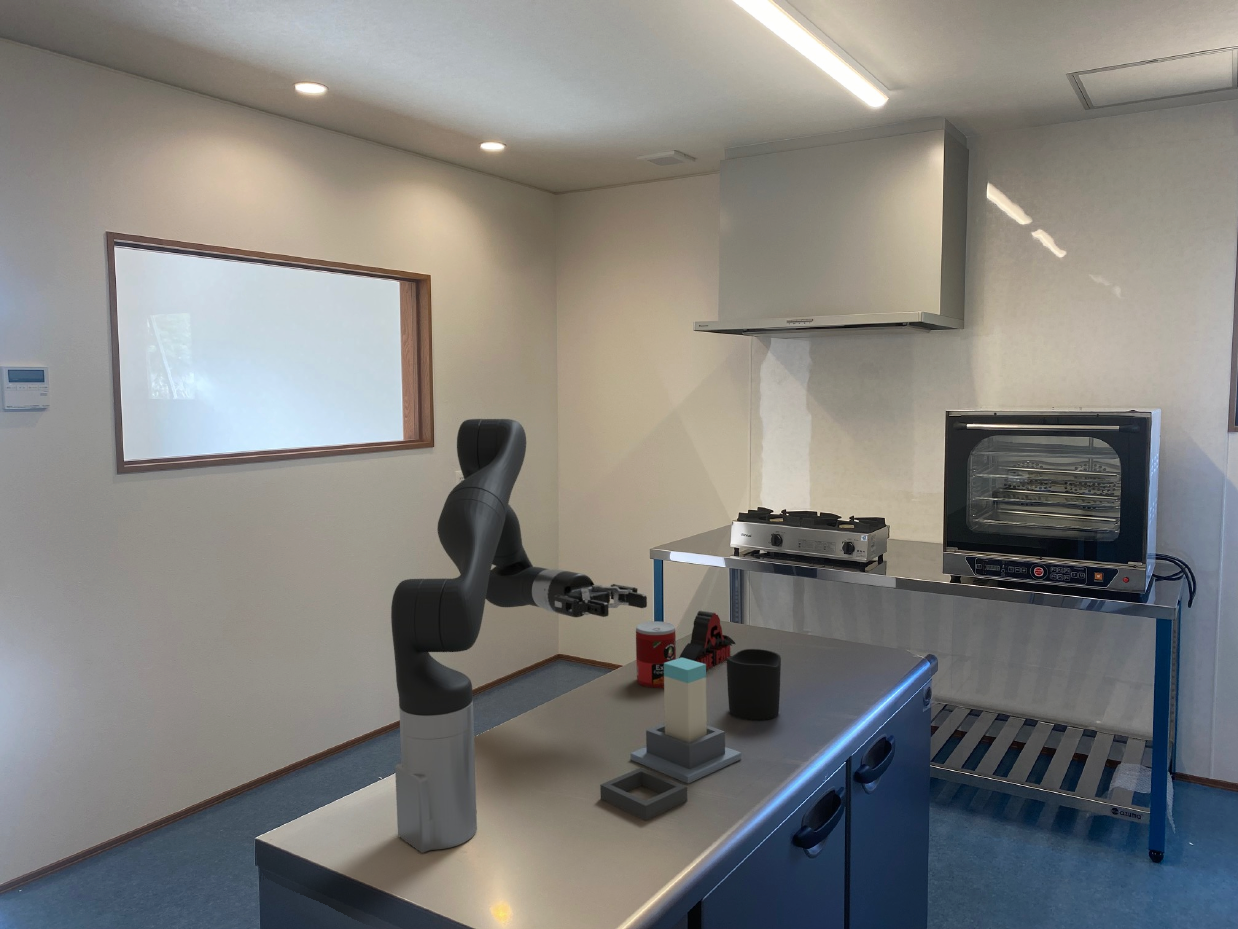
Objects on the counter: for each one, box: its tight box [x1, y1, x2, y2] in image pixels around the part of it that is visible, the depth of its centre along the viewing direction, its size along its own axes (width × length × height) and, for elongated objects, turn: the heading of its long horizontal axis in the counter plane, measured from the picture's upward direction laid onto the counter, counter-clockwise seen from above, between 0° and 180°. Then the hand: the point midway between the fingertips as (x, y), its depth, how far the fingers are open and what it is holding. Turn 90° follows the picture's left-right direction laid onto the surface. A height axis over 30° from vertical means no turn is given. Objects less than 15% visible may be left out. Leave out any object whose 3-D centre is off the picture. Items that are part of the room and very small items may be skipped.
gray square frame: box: [599, 767, 688, 821], centre depth 122 cm, size 8×9×2 cm
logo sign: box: [678, 610, 736, 671], centre depth 182 cm, size 18×4×11 cm, turn 144°
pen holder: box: [725, 648, 782, 722], centre depth 155 cm, size 9×9×10 cm
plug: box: [663, 657, 708, 742], centre depth 135 cm, size 4×5×14 cm
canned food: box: [635, 621, 677, 689], centre depth 172 cm, size 8×8×11 cm
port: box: [630, 722, 742, 784], centre depth 136 cm, size 12×12×4 cm
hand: (626, 606), depth 143 cm, fingers open, 8 cm apart
